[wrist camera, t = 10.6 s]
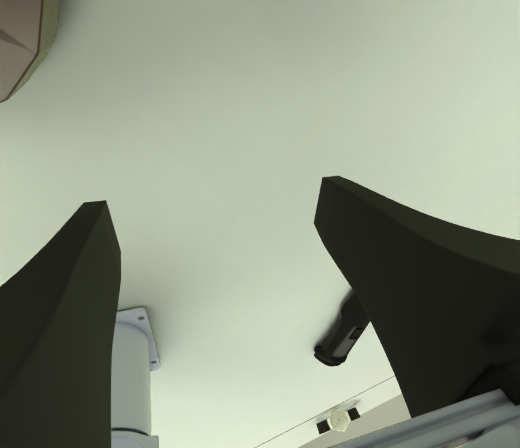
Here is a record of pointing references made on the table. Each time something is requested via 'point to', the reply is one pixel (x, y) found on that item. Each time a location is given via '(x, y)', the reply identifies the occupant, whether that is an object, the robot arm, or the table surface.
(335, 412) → the watch
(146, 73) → the table surface
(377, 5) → the table surface
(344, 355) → the electric trimmer
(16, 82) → the clock ring
